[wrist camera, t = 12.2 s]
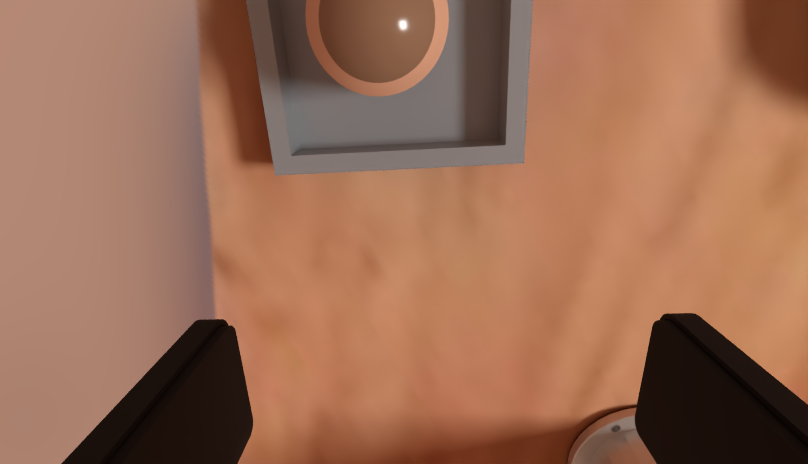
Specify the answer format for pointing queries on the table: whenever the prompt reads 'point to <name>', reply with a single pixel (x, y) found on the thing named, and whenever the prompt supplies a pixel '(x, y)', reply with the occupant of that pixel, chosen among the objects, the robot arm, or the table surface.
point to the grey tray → (397, 96)
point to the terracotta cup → (377, 41)
